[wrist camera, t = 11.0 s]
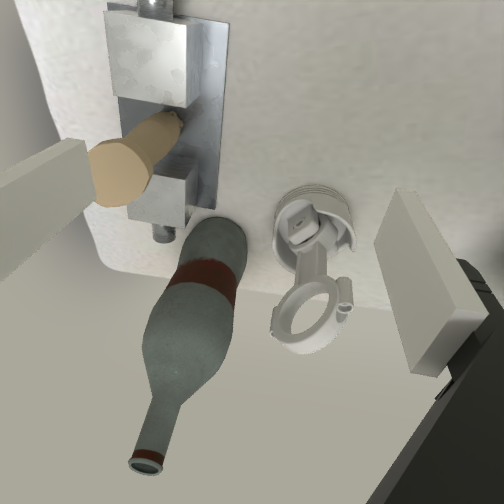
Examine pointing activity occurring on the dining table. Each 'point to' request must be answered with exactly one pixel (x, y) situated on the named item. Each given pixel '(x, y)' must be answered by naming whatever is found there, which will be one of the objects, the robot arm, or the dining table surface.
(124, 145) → the handle
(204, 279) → the bottle
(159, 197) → the shaft bed
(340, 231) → the engine component
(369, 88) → the dining table surface
